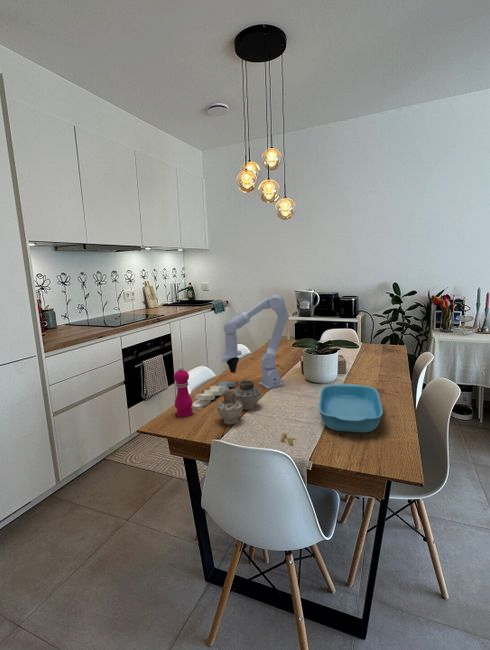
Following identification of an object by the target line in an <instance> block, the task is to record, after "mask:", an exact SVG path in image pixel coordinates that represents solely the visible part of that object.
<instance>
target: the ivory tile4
mask: <svg viewBox="0 0 490 650" xmlns="http://www.w3.org/2000/svg"><path fill="white" fill-rule="evenodd" d="M215 398H216V395H214V396H213V395H206V394H204V393H195V395H194V399H195V400H196V399H197V400H199V399H201V400H215Z"/></svg>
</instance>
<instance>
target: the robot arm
mask: <svg viewBox="0 0 490 650" xmlns="http://www.w3.org/2000/svg"><path fill="white" fill-rule="evenodd" d="M270 308H271V309H272V310H273V311H274V312H275V314H276V315H277V319H276V321H275V325H274V329H273V330H272V333H271V337H270V340H269V343H268V346H267V349H266V351H265V352H264V353H263V354H262V359H261V381H260V382H258V384H260V385H261V386H262V387H264V388H265V389H268V390H269V389H273V388H278V387H282V386H283V385H282V384H281V373H280V371H279V370H278V369H277V364H276V354H277V351H278V348H279V345H280V342H281V339H282V335H283V332H284V330H285V328H286V324H287V320H288V318H289V312H288V309H287V306H286V301H285V300H284V298H283V297H282V296H281V295H280V294H278V293H274V294H272V295H271V296H270V297H269V296H268V297H266V298H265V299H263V300H261V301H260V302H258V304H256V305H254V306H253V307H252V308H250V309H249V310H248V311H241V312H240V311H239V312H238V313H237V315H236V316H234V317H232V318H230V319H229V320H228V321H227V322H226V323H225V324H224V326H223V331H224V335H225V336H224V341H225V343H224V344H225V353H224V356H223V357H222V360H221V361H222V362H223V363H226V364H227V366H228V368H229V371H230V373H231V374H232V373H233V374H234V373H235V374H236V371H237V367H238V366H237V365H238V363H239V361H240V357H239V356H242V350H239V349H238V338H237V337H238V335H237V330H239V329H240V328H242V327H244V326H245V325H246V324H248V323H249V322H251V318H252V317H253V316H255V315H257V314H259V313H260V312H261V311H263V310H270Z"/></svg>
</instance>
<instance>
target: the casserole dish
mask: <svg viewBox="0 0 490 650" xmlns="http://www.w3.org/2000/svg"><path fill="white" fill-rule="evenodd" d="M318 411H319V415H320V417H321V420H322V422H323V424H324V425H325V426H326V427H327V428H329V429H330V430H332V431H338V432H351V433H363V434H365V433H371V432H373V431H374V430H375V429H377V427H378V426H379V424H380V421H381V418H382V416H383V414H384V413H383V405H382V401H381V397H380V394H379V391H378V390H377V389H376V388H374V387H373V386H372V387H371V386H367V385H362V384H356V383H339V384H338V383H337V384H328V385H325V386H323V387H322V389H321V390H320V394H319V401H318Z"/></svg>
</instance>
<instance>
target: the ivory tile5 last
mask: <svg viewBox="0 0 490 650" xmlns="http://www.w3.org/2000/svg"><path fill="white" fill-rule="evenodd" d="M208 404H211V400H201V399H197V400H195V401H194V402H193V405H192V407H191V408H192V410H197V411H198V410H201V408H204V407H206V405H208Z"/></svg>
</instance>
